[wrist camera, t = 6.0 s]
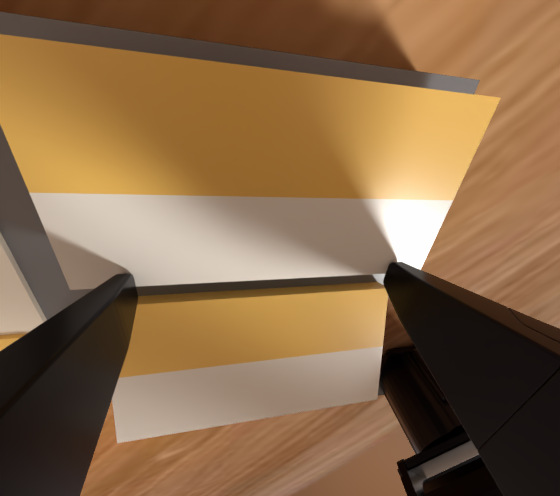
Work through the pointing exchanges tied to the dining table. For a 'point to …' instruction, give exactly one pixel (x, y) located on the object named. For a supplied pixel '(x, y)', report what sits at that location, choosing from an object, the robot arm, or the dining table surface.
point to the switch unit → (23, 215)
